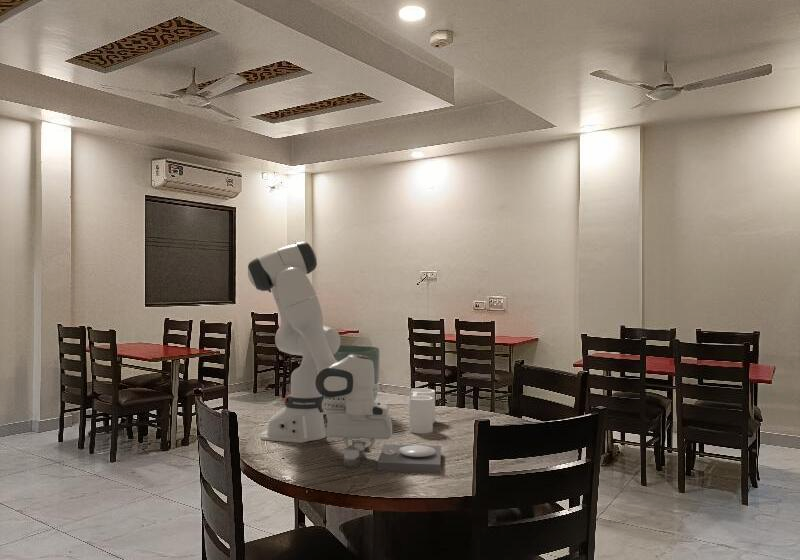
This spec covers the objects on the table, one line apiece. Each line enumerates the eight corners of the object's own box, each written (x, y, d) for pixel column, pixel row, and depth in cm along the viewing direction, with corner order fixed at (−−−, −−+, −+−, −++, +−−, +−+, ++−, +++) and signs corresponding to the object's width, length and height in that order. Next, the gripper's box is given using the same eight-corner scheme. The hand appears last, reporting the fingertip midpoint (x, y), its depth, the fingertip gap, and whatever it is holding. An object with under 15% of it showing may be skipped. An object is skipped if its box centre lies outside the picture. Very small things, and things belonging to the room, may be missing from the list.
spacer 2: (350, 459, 190) (351, 443, 190) (353, 455, 194) (353, 439, 194) (365, 460, 190) (365, 443, 190) (367, 456, 194) (367, 439, 194)
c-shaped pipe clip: (434, 434, 224) (434, 400, 224) (407, 433, 224) (407, 399, 225) (434, 419, 249) (435, 388, 249) (410, 418, 249) (410, 388, 249)
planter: (313, 408, 266) (314, 345, 266) (376, 407, 269) (377, 345, 269) (311, 422, 239) (312, 352, 239) (381, 421, 242) (382, 352, 242)
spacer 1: (342, 468, 181) (343, 451, 181) (345, 463, 185) (345, 446, 185) (357, 468, 181) (358, 451, 181) (359, 464, 185) (360, 447, 185)
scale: (377, 471, 178) (377, 458, 178) (384, 452, 198) (384, 440, 198) (440, 473, 177) (440, 460, 177) (440, 454, 197) (440, 442, 197)
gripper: (324, 408, 190) (323, 453, 190) (391, 410, 188) (390, 455, 188) (328, 404, 196) (327, 448, 196) (393, 405, 194) (392, 450, 194)
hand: (359, 452), depth 192 cm, fingers closed on spacer 2, 4 cm apart
